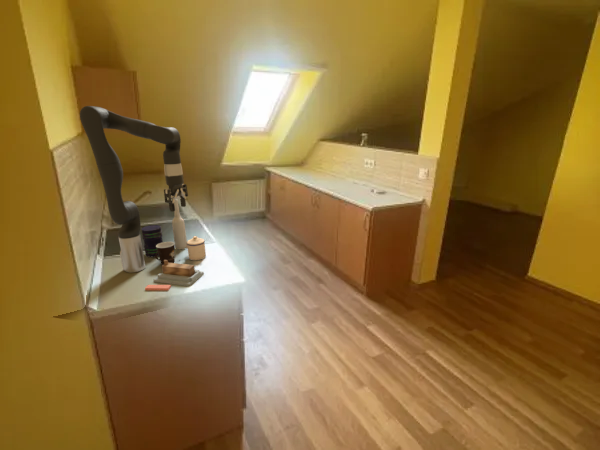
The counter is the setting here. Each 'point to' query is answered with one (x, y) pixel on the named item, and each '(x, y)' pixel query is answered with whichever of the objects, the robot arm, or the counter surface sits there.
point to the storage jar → (151, 239)
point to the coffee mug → (166, 252)
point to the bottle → (179, 229)
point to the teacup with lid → (196, 248)
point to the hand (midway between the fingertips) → (178, 208)
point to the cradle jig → (178, 278)
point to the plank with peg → (178, 269)
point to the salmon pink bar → (157, 287)
